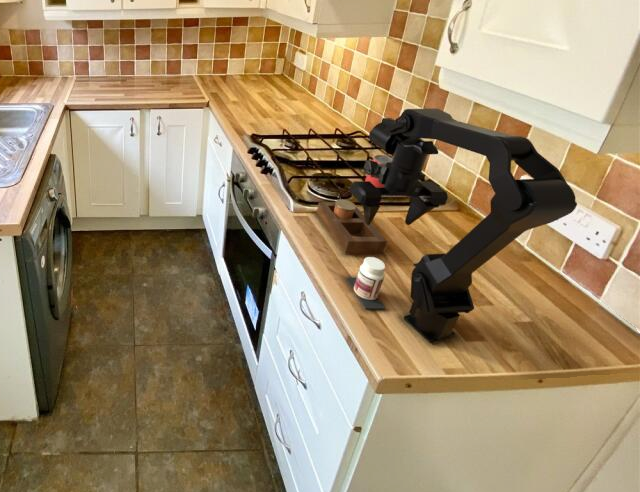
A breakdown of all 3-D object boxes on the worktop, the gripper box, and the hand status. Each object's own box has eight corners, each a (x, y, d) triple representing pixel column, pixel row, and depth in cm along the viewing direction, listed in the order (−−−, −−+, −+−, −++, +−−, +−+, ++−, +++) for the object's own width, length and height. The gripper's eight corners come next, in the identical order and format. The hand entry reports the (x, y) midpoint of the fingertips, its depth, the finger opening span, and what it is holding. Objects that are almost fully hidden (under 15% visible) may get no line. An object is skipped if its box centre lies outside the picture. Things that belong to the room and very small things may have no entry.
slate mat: (384, 309, 87) (384, 308, 87) (365, 309, 87) (365, 308, 87) (363, 278, 95) (363, 277, 95) (345, 278, 95) (346, 277, 95)
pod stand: (348, 213, 119) (352, 201, 117) (382, 254, 103) (387, 241, 101) (315, 213, 119) (318, 202, 117) (344, 254, 103) (348, 241, 101)
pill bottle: (369, 284, 93) (379, 255, 90) (381, 300, 89) (392, 270, 85) (348, 284, 93) (358, 255, 90) (360, 301, 89) (370, 271, 85)
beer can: (383, 188, 131) (393, 155, 126) (388, 200, 125) (400, 165, 120) (360, 186, 132) (369, 152, 127) (365, 196, 127) (375, 162, 122)
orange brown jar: (354, 227, 113) (360, 208, 110) (339, 230, 112) (344, 211, 109) (341, 217, 117) (346, 198, 114) (326, 220, 116) (331, 200, 113)
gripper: (425, 147, 95) (405, 204, 102) (345, 147, 95) (330, 204, 102) (461, 171, 85) (436, 232, 92) (371, 171, 85) (353, 232, 92)
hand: (387, 224), depth 95 cm, fingers open, 9 cm apart
